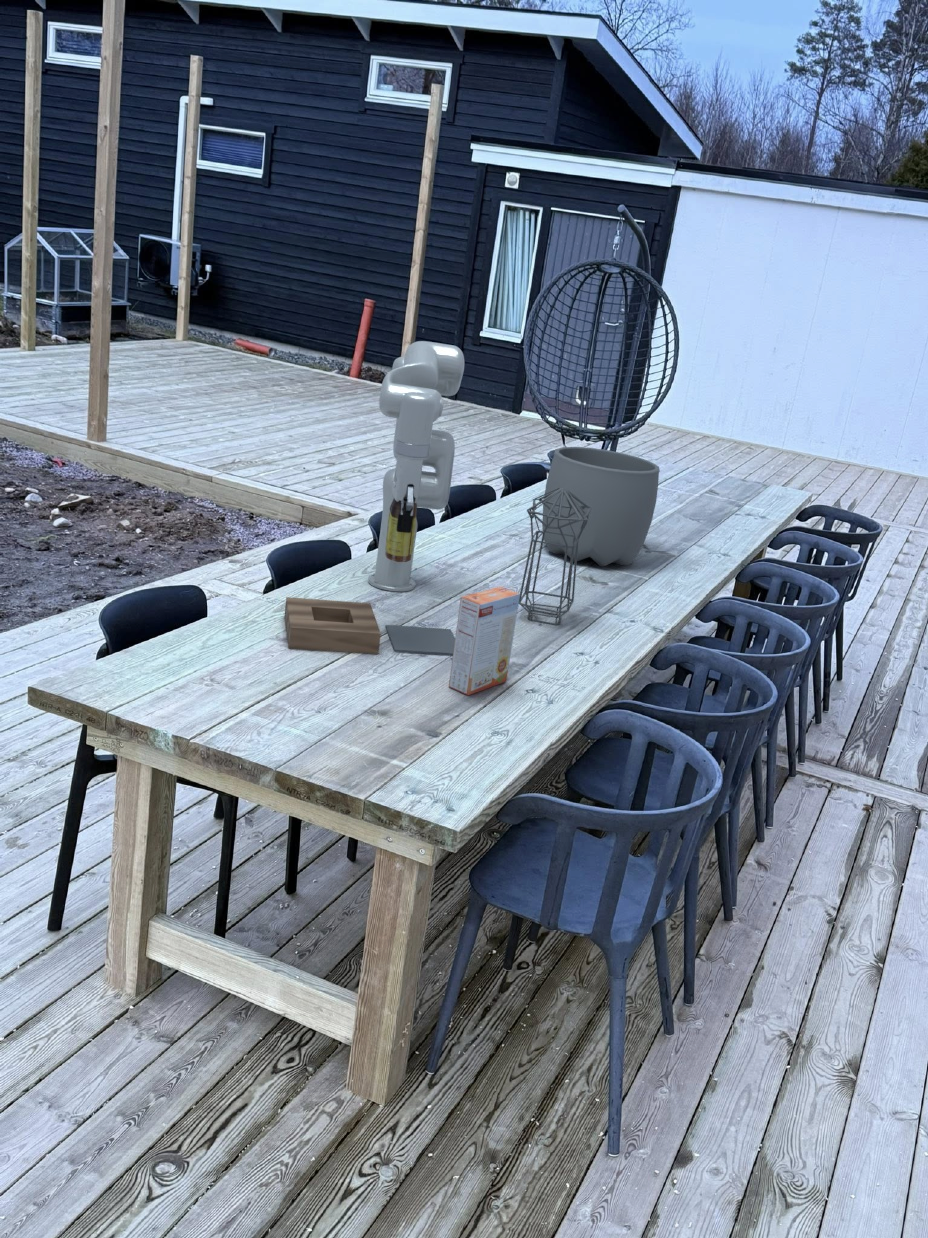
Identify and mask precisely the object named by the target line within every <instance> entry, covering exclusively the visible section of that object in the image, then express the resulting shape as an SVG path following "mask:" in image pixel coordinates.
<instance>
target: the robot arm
mask: <svg viewBox="0 0 928 1238" xmlns="http://www.w3.org/2000/svg"><path fill="white" fill-rule="evenodd" d="M392 363H393V364H392V368H391V369H392V370H390V371H389V372H387V374H385V376H384V378H383V380H382V383H381V387H380V392H379V397H378V398H379V400H378V403H379V404H378V406H379V410H380V412H381V413H382V414H383V416H385V417H388V418H392V419H393V418H394V419H396V420H395V421H396V423H395V427H394V428H395V429H394V437H393V439H394V440H393V446H392V447H393V448H392V449H393V451H392V452H393V457H394V458H395V460H396V463H395V468H390V469H388V470H387V471H386V472H385V474H384V476H383V480H382V514H381V522H380V523H381V524H380V533H379V537H378V538H379V539H378V540H379V541H378V548H377V555H376V562H375V565H376V566H375V570H374V573H373V574H371V575H369V576H368V579H367V581H368V583H369V584H370V585H371V586H373V587H374V588H377V589H380V590H385V591H390V592H398V593H399V592H401V593H402V592H408V591H409V592H410V591H412V590H414V589H415V587H416V582H415V580H414V579H412V578H411V576H412V567H413V562H414V561H413V559H414V554H415V553H414V552H415V544H416V539H417V531H418V520H417V519H416V526H415V535H414V544H413V553H412V557H411V560H410V561H407V562H396V561H393V560H390V559H388V558H386V555H385V553H386V551H385V548H386V538H387V528H388V519H389V509H390V506H391V504H392V502H393V499H395V500H396V501H397V502H398V501H399V500H400V501H401V507H400V514H399V515H398V522H397V532H405V533H410V532H411V528H412V520H413V506H414V503H417V508H421V509H429V510H438V511H439V510H443V509H445V508H446V506H447V505H448V502H449V499H450V492H451V486H452V485H451V484H452V476H453V469H454V461H455V450H456V444H455V443H456V442H455V439H454V438H455V437H453V435H452V434H451V433H450V432H449V431H446V430H445V431H444V430H438V429H433V425H434V422H436V421H437V420H438V419H439V418H440V417H441V416H442V413H443V409H444V398H443V396H445V397H451V396H454V395H456V394H457V393H458V391H459V389H460V387H461V383H462V379H463V375H464V371H465V356H464V353H463V351H462V350H461V349H460V348H459V347H458V346H456V345H452V344H447V343H440V342H432V341H426V340H419V341H414V342H413V343H411V344H409V346H408V347H407V348H406V350H405V353H404V356H399V357H397V358H396V359H394V361H393V362H392ZM423 466H425V467H431V468H433V469H434V470H435V471H433V472H432V471H426V470H423ZM403 498H404V499H407V501H403ZM404 504H406V505H405V506H404ZM403 508H404V509H403Z"/></svg>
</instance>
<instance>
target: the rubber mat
mask: <svg viewBox="0 0 928 1238" xmlns="http://www.w3.org/2000/svg"><path fill="white" fill-rule="evenodd" d="M385 630H386V633H387V635H388V639H389V641H390V643H391V645H392V649H393V652H394V653H400V654H401V653H404V654H405V653H407V654H420V655H433V656H434V655H436V656H449V657H453V651H454V644H455V636H454V633H453V631H452V629H451V628H439V627H426V626H425V627H424V626H413V625H411V626H410V625H400V624H399V625H398V624H397V625H396V624H385Z"/></svg>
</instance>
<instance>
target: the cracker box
mask: <svg viewBox="0 0 928 1238" xmlns="http://www.w3.org/2000/svg"><path fill="white" fill-rule="evenodd" d="M519 598H520V592H519V593H518V592H516V591H513V590H510V589H508V588H506V587H503V586H498V587H494V588H490V589H486V590H482V591H479V592H474V593H472V594H471V593H470V594H467V595H462V596H460V600H459V601H460V602H459V609H458V614H457V622H456V623H457V624H456V628H455V629H456V631H455V636H454V637H455V644H454V651H453V656H452V659H451V666H450V667H451V668H450V672H449V673H450V674H449V675H450V676H449V680H448V688H451V689H453V690H455V691H457V692H460V693H462V694H464V695H466V696H470V695H474V694H476V693H478V692H481V691H484V690H487V689H489V688H492V687H495V686H498V685H501V684H503V683H505V682H507V681H508V673H509V667H510V659H511V655H512V654H511V653H512V647H513V642H514V636H515V635H514V634H515V628H516V622H517V615H518V609H519V605H520V604H519Z"/></svg>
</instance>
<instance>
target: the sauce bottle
mask: <svg viewBox="0 0 928 1238" xmlns="http://www.w3.org/2000/svg"><path fill="white" fill-rule="evenodd" d="M403 501H407V499H404V498H403ZM405 505H406V504H404V506H405ZM400 507H401V501H400V500H399V501H398V502H397V501H396V500H395V499H393V502H392V504H391V506H390V509H389V519H388V528H387V538H386V548H385V551H386V553H385V555H386V558H388V559H390V560H393V561H396V562H407V561H410V560H411V557H412V553H413V544H414V535H415V526H416V520H417V517H418V516H417V511H418V510H417V509H418V507H417V503H414V506H413V520H412V528H411V532H410V533H405V532H397V522H398V515H399V514H400ZM403 509H404V508H403Z"/></svg>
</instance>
